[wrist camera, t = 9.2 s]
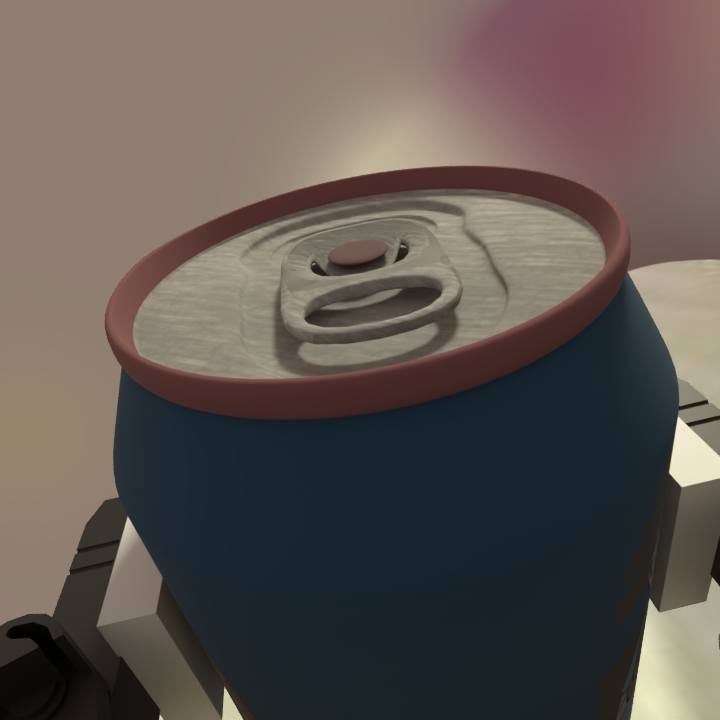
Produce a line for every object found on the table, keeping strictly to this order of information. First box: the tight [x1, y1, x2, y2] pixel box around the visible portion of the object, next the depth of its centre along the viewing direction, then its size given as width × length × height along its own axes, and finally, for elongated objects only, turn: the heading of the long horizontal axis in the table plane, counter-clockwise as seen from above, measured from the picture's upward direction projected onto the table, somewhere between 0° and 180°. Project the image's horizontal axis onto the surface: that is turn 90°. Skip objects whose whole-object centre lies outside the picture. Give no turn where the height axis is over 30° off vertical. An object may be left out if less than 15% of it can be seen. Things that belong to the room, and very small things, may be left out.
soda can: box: [105, 166, 679, 720], centre depth 10 cm, size 7×7×12 cm
